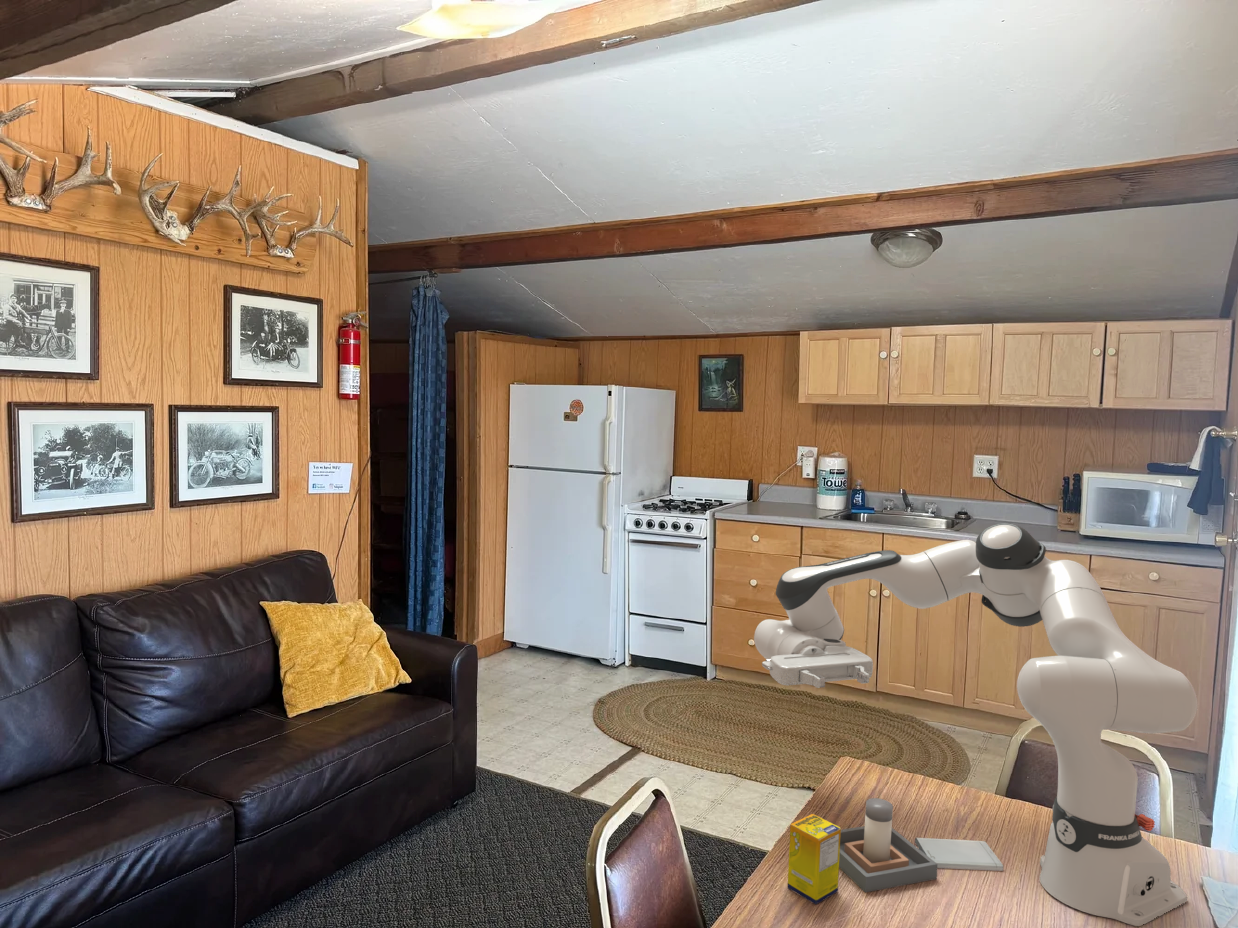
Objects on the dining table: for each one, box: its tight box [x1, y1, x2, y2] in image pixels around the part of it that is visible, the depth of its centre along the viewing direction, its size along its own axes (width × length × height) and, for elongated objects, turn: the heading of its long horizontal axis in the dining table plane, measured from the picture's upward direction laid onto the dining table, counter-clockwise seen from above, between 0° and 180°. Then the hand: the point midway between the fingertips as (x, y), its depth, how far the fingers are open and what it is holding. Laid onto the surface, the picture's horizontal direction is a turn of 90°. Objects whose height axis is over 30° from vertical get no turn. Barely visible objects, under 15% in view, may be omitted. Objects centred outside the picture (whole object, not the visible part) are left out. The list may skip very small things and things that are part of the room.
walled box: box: [839, 825, 938, 893], centre depth 144 cm, size 14×14×3 cm
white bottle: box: [863, 797, 894, 863], centre depth 144 cm, size 4×4×10 cm
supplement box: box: [787, 813, 842, 905], centre depth 135 cm, size 6×6×11 cm
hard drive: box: [914, 837, 1004, 872], centre depth 147 cm, size 2×8×12 cm
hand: (844, 681), depth 153 cm, fingers open, 8 cm apart
